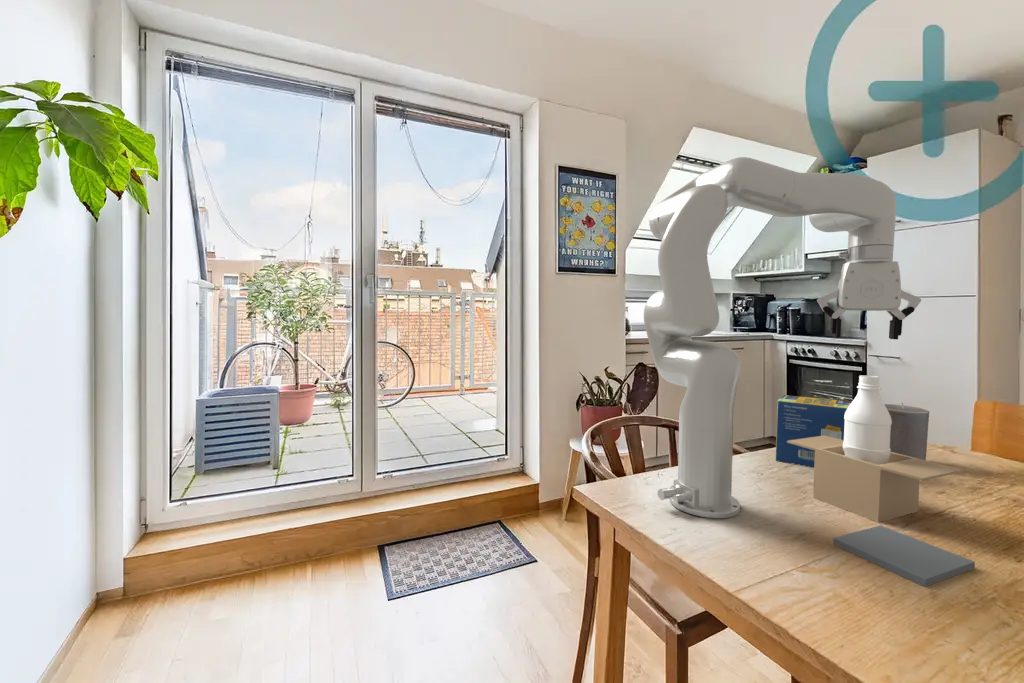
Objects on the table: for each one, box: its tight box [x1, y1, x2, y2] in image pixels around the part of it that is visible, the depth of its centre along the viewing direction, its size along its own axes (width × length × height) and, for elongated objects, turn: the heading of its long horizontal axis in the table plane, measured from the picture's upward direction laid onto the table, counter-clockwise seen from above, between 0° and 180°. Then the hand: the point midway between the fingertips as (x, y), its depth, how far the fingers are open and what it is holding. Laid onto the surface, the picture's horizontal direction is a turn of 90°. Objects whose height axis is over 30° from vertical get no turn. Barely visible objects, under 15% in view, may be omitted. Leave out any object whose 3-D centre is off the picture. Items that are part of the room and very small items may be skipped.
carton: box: [787, 436, 964, 523], centre depth 86 cm, size 12×24×10 cm, turn 21°
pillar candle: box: [884, 402, 930, 461], centre depth 111 cm, size 10×10×15 cm
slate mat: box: [832, 524, 976, 587], centre depth 68 cm, size 12×12×1 cm
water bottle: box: [843, 374, 892, 465], centre depth 85 cm, size 7×7×25 cm
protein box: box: [774, 394, 853, 468], centre depth 111 cm, size 10×15×16 cm
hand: (864, 338), depth 94 cm, fingers open, 9 cm apart
